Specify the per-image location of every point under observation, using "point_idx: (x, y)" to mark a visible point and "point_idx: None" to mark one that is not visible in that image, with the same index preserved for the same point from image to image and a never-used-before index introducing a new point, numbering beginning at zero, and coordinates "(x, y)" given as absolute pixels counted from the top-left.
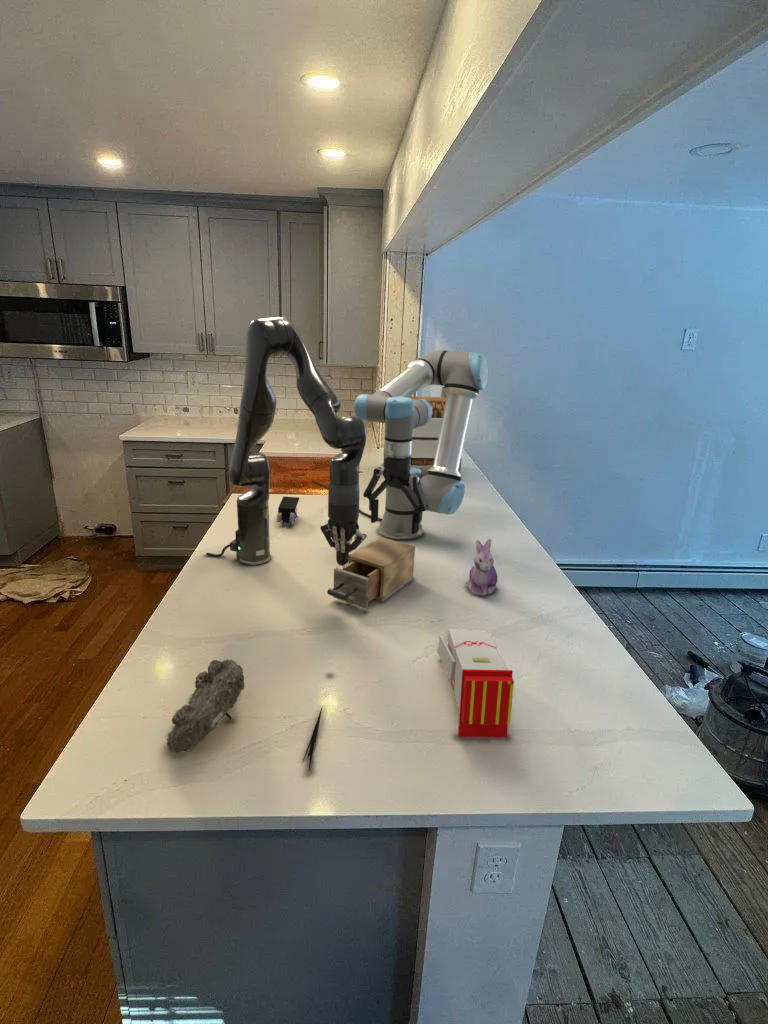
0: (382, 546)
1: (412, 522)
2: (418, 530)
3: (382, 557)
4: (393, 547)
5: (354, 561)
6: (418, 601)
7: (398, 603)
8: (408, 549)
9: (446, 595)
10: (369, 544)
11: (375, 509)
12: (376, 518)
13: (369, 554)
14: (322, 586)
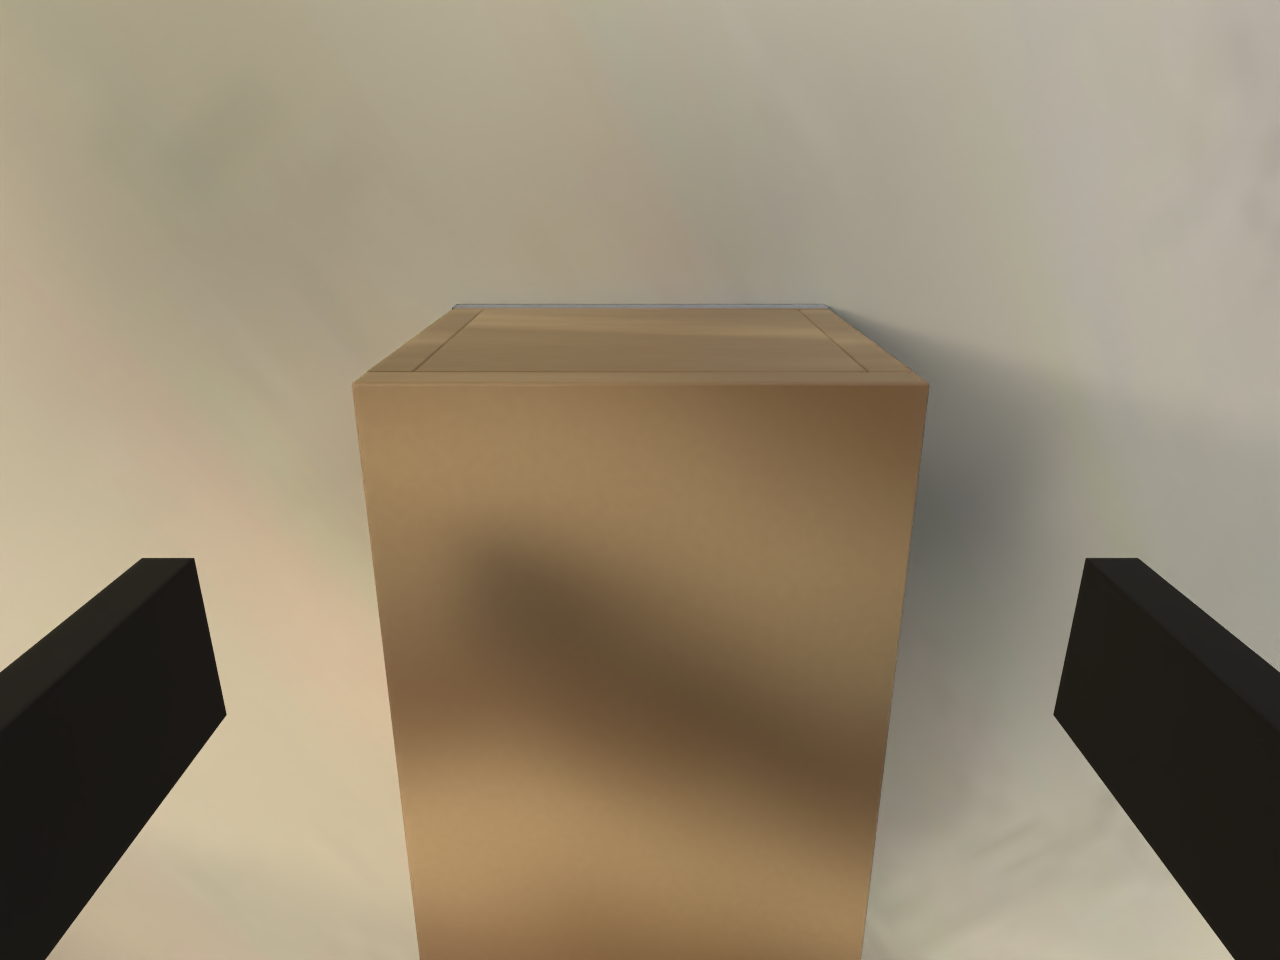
0: (565, 642)
1: (1189, 885)
2: (1145, 566)
3: (734, 867)
4: (695, 588)
5: None
6: (1018, 611)
7: (899, 711)
8: (892, 529)
9: (1197, 403)
10: (401, 682)
11: (42, 846)
12: (174, 642)
13: (577, 883)
14: (319, 805)
